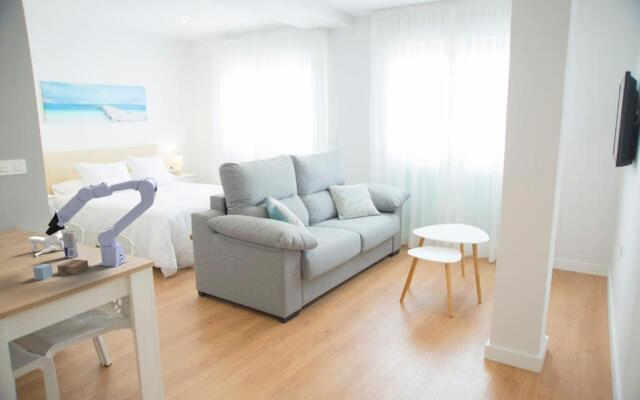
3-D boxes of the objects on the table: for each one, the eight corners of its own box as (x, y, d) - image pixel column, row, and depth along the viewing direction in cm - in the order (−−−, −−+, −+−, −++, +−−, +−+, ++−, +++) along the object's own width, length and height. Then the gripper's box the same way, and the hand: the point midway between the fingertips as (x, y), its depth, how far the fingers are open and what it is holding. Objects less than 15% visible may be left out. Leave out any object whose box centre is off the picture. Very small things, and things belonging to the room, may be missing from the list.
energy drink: (68, 255, 205) (65, 231, 203) (80, 254, 205) (77, 230, 203) (63, 258, 200) (59, 234, 198) (75, 258, 200) (71, 233, 198)
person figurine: (25, 236, 201) (66, 222, 212) (21, 236, 210) (61, 223, 222) (36, 261, 203) (76, 246, 214) (32, 261, 212) (71, 246, 224)
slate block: (53, 276, 178) (51, 264, 177) (43, 280, 173) (41, 268, 172) (44, 275, 179) (42, 264, 178) (35, 279, 175) (33, 267, 174)
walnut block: (88, 269, 186) (87, 260, 185) (74, 275, 178) (72, 266, 178) (73, 267, 188) (72, 259, 187) (58, 274, 180) (57, 265, 179)
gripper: (65, 196, 188) (42, 217, 188) (61, 209, 176) (37, 232, 176) (79, 205, 192) (57, 227, 192) (76, 219, 180) (53, 242, 180)
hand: (48, 230), depth 184 cm, fingers open, 7 cm apart
